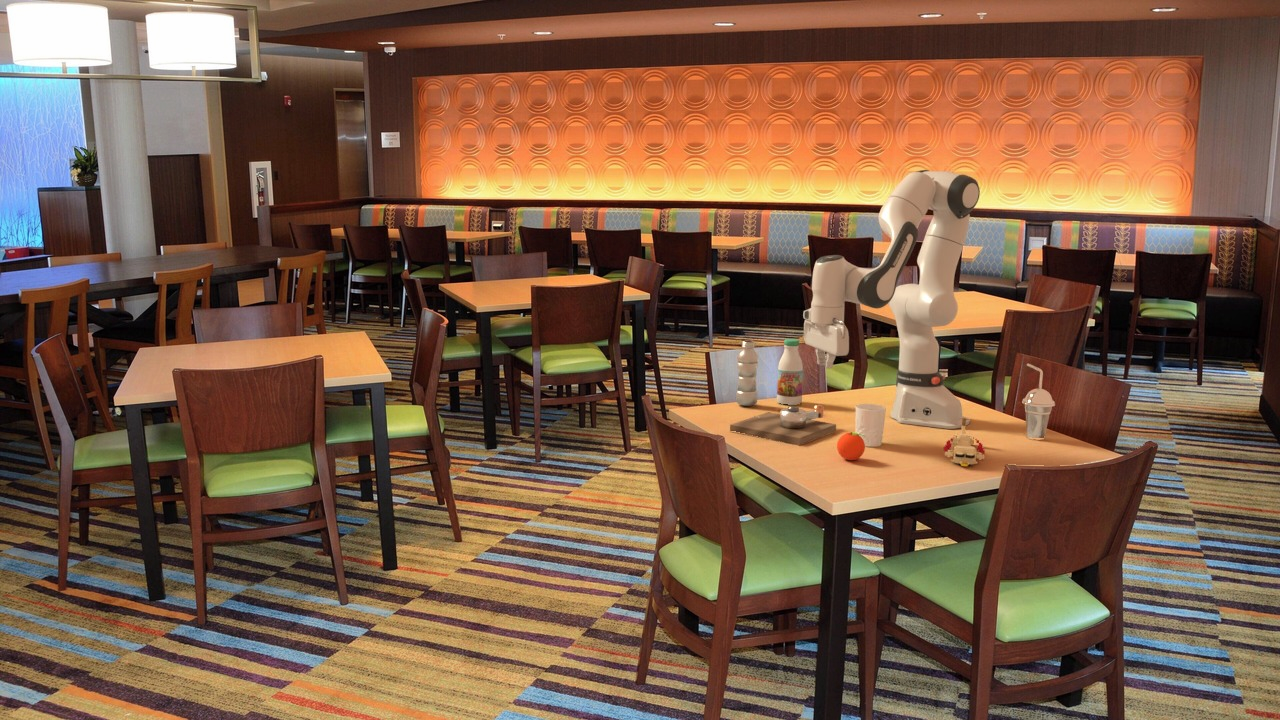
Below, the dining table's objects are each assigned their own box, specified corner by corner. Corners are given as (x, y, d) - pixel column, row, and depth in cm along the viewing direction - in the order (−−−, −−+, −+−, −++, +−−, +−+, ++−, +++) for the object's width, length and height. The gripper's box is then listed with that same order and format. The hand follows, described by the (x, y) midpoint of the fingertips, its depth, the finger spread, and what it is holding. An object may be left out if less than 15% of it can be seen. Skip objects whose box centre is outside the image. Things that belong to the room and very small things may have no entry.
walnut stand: (835, 431, 292) (836, 423, 292) (799, 445, 277) (799, 437, 277) (768, 418, 306) (768, 411, 305) (729, 431, 290) (730, 423, 290)
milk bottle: (774, 400, 330) (776, 337, 326) (798, 400, 331) (800, 337, 327) (780, 406, 322) (782, 341, 319) (804, 405, 323) (807, 341, 319)
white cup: (859, 448, 275) (861, 411, 273) (849, 440, 283) (851, 404, 281) (888, 447, 277) (890, 410, 275) (877, 439, 284) (879, 403, 282)
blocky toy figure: (942, 447, 282) (943, 464, 258) (944, 415, 281) (945, 429, 257) (981, 450, 280) (985, 468, 256) (983, 418, 279) (988, 433, 255)
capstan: (794, 429, 284) (794, 411, 283) (774, 424, 289) (775, 407, 288) (831, 420, 295) (831, 403, 294) (811, 416, 300) (812, 399, 299)
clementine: (864, 456, 268) (866, 429, 266) (871, 463, 261) (872, 436, 260) (833, 455, 268) (835, 428, 266) (839, 463, 261) (840, 435, 259)
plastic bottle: (758, 408, 319) (760, 343, 315) (736, 407, 319) (738, 343, 315) (756, 403, 325) (758, 339, 321) (734, 403, 325) (736, 339, 322)
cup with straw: (1024, 441, 284) (1030, 369, 280) (1014, 433, 292) (1020, 363, 289) (1056, 442, 283) (1063, 369, 280) (1045, 434, 292) (1051, 363, 288)
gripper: (856, 321, 273) (853, 373, 276) (821, 310, 293) (819, 359, 295) (834, 322, 272) (831, 374, 274) (800, 311, 291) (798, 360, 293)
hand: (825, 366), depth 285 cm, fingers open, 3 cm apart
